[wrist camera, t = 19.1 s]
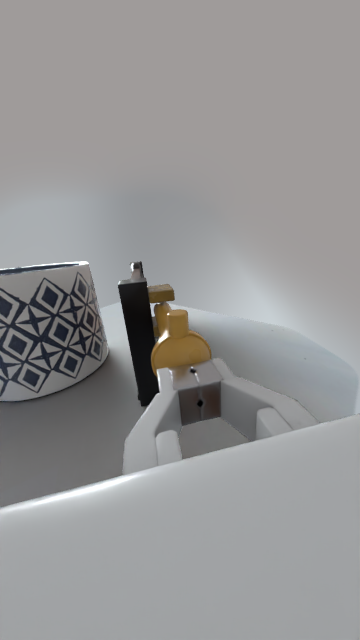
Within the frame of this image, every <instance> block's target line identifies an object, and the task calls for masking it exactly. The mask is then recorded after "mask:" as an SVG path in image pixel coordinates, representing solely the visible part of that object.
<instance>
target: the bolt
mask: <svg viewBox="0 0 360 640" xmlns="http://www.w3.org/2000/svg"><path fill="white" fill-rule="evenodd" d="M154 313H155V317H156V321H157V325H158V329H159V333H160V337H159V340H158V341H157V343H156V344H155V346H154V348H153V350H152V354H151V364H152V369H153V372H154V373H155V375H156V376H157V369H161V368H168V367H173V366H179V365H185V364H192V363H197V362H202V361H207V360H211V349H210V347H209V345H208V343H207V342H206V340H205V339H204V338H203V337H202V336H201V335H200V334H199V333H197V332H195V331H192V330H189V324H188V312H187V311H186V310H180V309H179V310H172V309H171V307H170V306H169V304H168V303H166V302H158V303H157V304H156V305H155V306H154ZM157 378H158V377H157Z"/></svg>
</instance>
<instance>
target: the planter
mask: <svg viewBox="0 0 360 640" xmlns="http://www.w3.org/2000/svg"><path fill="white" fill-rule="evenodd" d="M108 351H109V349H108V344H107V340H106V335H105V331H104V327H103V322H102V318H101V314H100V310H99V305H98V301H97V297H96V293H95V288H94V284H93V280H92V276H91V272H90V268H89V264H88V263H87V262H77V263H62V264H51V265H39V266H29V267H20V268H11V269H2V270H0V401H20V400H27V399H33V398H37V397H41V396H45V395H48V394H51V393H54V392H57V391H59V390H62V389H64V388H67V387H69V386H71V385H73V384H75V383H77V382H79V381H80V380H82V379H84V378H85V377H87V376H88V375H90V374H91V373H92V372H94V371H95V370H96V369H97V368H98V367H99V366H100V365H101V364H102V363H103V362H104V361H105V359H106V358H107V355H108Z"/></svg>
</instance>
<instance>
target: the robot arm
mask: <svg viewBox="0 0 360 640" xmlns="http://www.w3.org/2000/svg"><path fill="white" fill-rule="evenodd" d="M157 377H158V384H159V391H160V393H158V394H156V395H155V397H154V398H153V400H152V401H151V403H150V404H149V406H148V407H147V408H146V410H145V411H144V413H143V414H142V416H141V417H140V419H139V420H138V421H137V423H136V424H135V426H134V427H133V429H132V430H131V432H130V433H129V435H128V436H127V437H126V439H125V445H124V458H123V471H122V476H119V477H115V478H112V479H108V480H104V481H100V482H96V483H92V484H89V485H85V486H81V487H77V488H73V489H70V490H66V491H62V492H58V493H54V494H51V495H47V496H43V497H39V498H35V499H32V500H28V501H24V502H20V503H16V504H12V505H9V506H5V507H1V508H0V640H360V414H356V415H352V416H348V417H344V418H340V419H337V420H333V421H329V422H325V423H320V422H319V421H318V420H317V419H316V418H315V417H314V416H313V415H312V414H311V413H309V412H308V411H307V410H306V409H305V408H304V407H303V406H302V405H301V404H300V403H299V402H298V401H297V400H295V399H293V398H290V397H288V396H285V395H283V394H281V393H278V392H276V391H273V390H271V389H268V388H266V387H263V386H261V385H258V384H256V383H254V382H251V381H249V380H246V379H244V378H241V377H236V376H235V375H234V374H233V372H232V371H231V370H230V369H229V367H228V366H227V365H226V363H225V362H224V361H223V360H222V358H215V359H211V360H207V361H202V362H197V363H192V364H185V365H179V366H173V367H168V368H161V369H157ZM218 417H221V418H222V419H223V420H225V421H226V422H227V423H228V424H230V425H231V426H232V427H234V428H235V429H236V430H237V431H239V432H240V433H241V434H243V435H244V436H245V437H247V438H248V439H249V440H250V441H252V442H249V443H245V444H241V445H237V446H233V447H230V448H226V449H222V450H218V451H214V452H211V453H207V454H203V455H199V456H195V457H192V458H188V459H184V460H183V457H182V453H181V448H180V444H179V439H178V438H179V435H180V432H181V429H182V426H184V425H188V424H192V423H196V422H199V421H204V420H209V419H214V418H218Z"/></svg>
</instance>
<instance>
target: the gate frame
mask: <svg viewBox="0 0 360 640" xmlns="http://www.w3.org/2000/svg"><path fill="white" fill-rule="evenodd" d="M133 263H139V264H140V266H141V273H142V275H143V268H142V262H141V261H140V262H131V263H130V266H131V273H132V272H133V269H132V264H133ZM118 288H119V294H120V299H121V304H122V309H123V314H124V320H125V325H126V330H127V335H128V340H129V346H130V351H131V356H132V361H133V366H134V371H135V377H136V382H137V387H138V400H140V403H141V406H147V405H149V404H150V403H151V401H152V400H153V398H154V397H155V395H156V394H158V393H160V391H159V384H158V378H157V376H156V375H155V373H154V372H153V369H152V364H151V354H152V350H153V348H154V346H155V344H156V342H155V337H157V336H160V333H159V329H158V325H157V321H156V317H155V316H154V317H152V315H151V308H150V303H158V302H166V301H173V300H175V298H174V290H173V288H172V287H170V285H169V284H164V285H156V286H148V287H147V281H146V278H144V275H143V278H138V279H129V280H121V281H120V282H119V284H118ZM154 336H155V337H154Z"/></svg>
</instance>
